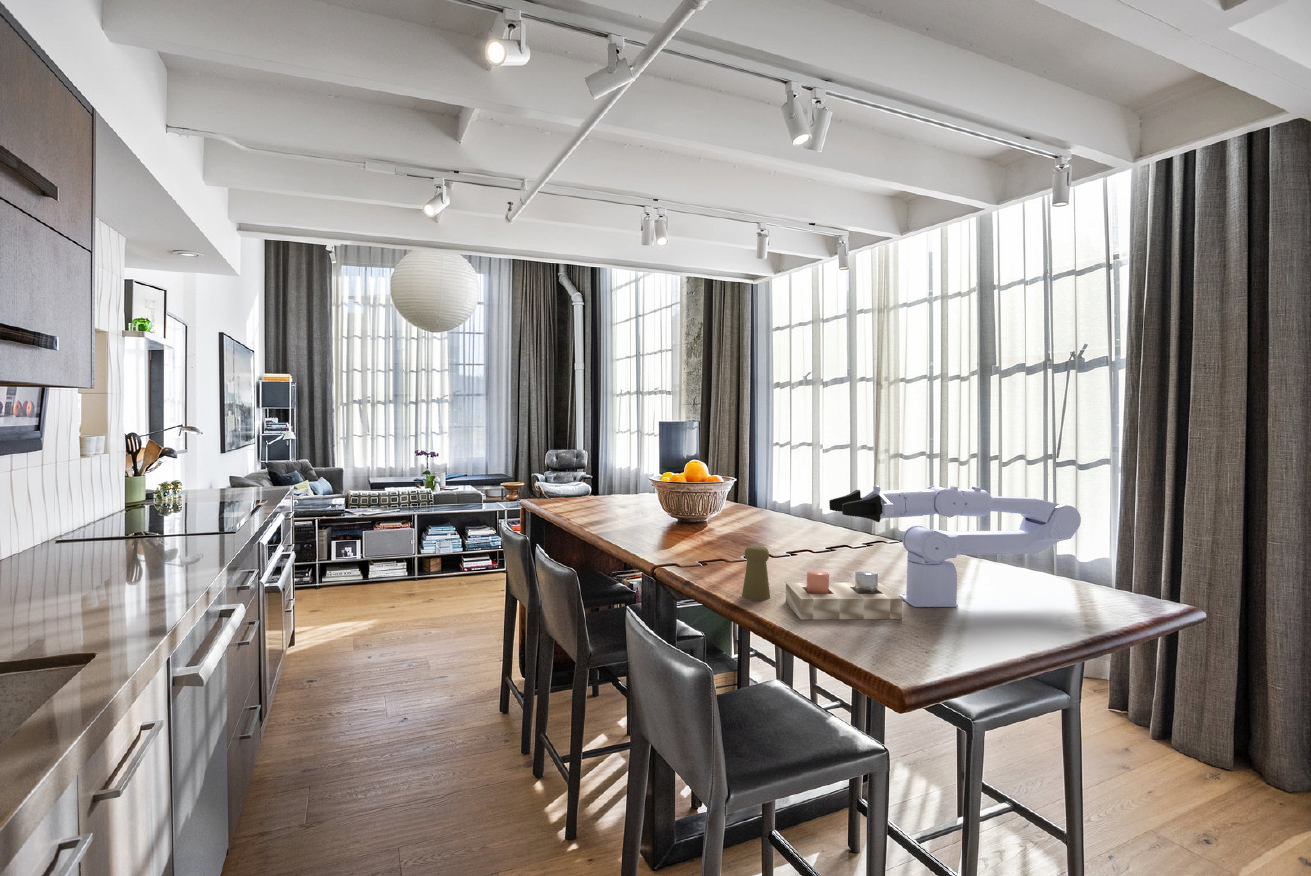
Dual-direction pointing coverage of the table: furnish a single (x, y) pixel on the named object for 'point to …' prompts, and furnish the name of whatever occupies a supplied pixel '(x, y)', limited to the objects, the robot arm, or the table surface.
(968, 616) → the table surface
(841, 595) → the button board
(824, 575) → the pink rounded cube
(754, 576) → the olive pawn
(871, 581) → the steel plunger
